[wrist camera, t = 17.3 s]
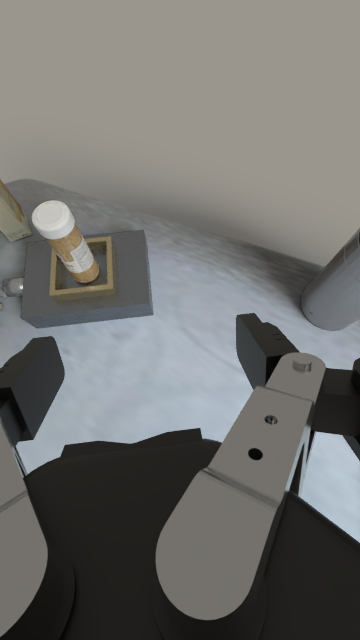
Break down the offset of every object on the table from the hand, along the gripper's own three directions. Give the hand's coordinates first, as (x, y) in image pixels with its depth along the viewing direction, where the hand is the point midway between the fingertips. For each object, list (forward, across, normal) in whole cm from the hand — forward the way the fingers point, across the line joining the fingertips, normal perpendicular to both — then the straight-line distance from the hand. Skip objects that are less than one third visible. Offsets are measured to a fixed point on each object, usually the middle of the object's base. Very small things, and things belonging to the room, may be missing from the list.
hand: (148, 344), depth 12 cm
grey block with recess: (+38, +14, +8) cm, 42 cm away
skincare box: (+49, +27, -3) cm, 56 cm away
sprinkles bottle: (+35, +12, +4) cm, 37 cm away
